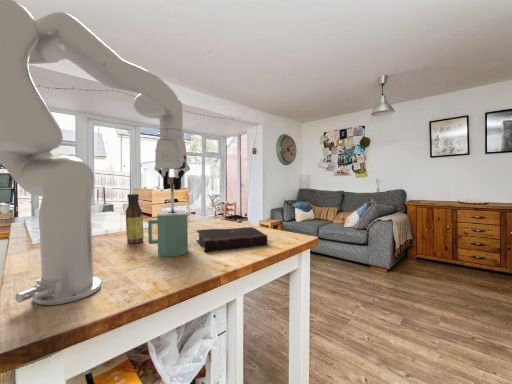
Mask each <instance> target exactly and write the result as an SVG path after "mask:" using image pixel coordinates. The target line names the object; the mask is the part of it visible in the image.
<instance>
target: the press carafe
mask: <svg viewBox="0 0 512 384" xmlns="http://www.w3.org/2000/svg"><path fill="white" fill-rule="evenodd" d="M156 218H157V219H148V220H147V223H148V224H147V225H148V226H147V227H148V232H147V233H148V245H154V244H157V254H158V256H159V257H162V258H175V257H176V258H177V257H182V256H184V255H186V254H188V252H189V249H188V247H189V244H188V242H189V240H188V238H189V237H188V212H187V211H186V210H185V209H182V210H180V209H179V210H177V209H175V210H174V213H171V210H160V211H159V212H158V213H157V217H156ZM153 224H157V238H154V239H153Z"/></svg>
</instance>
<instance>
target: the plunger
mask: <svg viewBox="0 0 512 384" xmlns="http://www.w3.org/2000/svg"><path fill="white" fill-rule="evenodd" d="M174 178H176V177H175V176H169V177H167V185H171V188H170V211H171V213H174V211H175V189H174Z"/></svg>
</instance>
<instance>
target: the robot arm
mask: <svg viewBox="0 0 512 384" xmlns="http://www.w3.org/2000/svg"><path fill="white" fill-rule="evenodd" d="M67 60H68V61H69V62H71V63H72V64H74V65H75V66H76V67H78V68H79V69H80V70H82V71H83V72H85V73H86V74H88V75H89V76H91V77H92V78H93V79H94V80H96V81H97V82H99V83H100V84H101V85H103V86H106V87H108V88H111V89H115V90H116V89H117V90H122V91H127V92H128V91H129V92H133V93H136V94H137V96H135V98H134V99H133V107H134V110H135V112H137V113H138V115H140V116H142V117H143V118H144V117H145V118H149V119H157V120H159V133H157V138H159V139H158V140H157V141H156V146H155V155H154V157H155V158H154V159H155V161H154V168H153V169H154V171H155V172H157V173H159V175H160V176H161V178H162V185H163V190H171V185H167V177H170V170H174V177H176V178H174V191H175V190H181V187H182V178H183V177H184V175H185V174H186V173H188V172H189V171H190V170H191V168H190V166H189V163H188V155H187V153H188V152H187V146H186V142H185V140H184V139H183V138H184V136H183V135H184V131H183V129H184V127H183V125H184V123H183V121H184V120H183V112H184V111H183V103H182V102H181V100H179V98H178V95H177V94H176V93H175V91H174V90H173V89H172V88H171V87H170V85H168V84H167V83H166V82H165V81H164V80H163V79H161V77H159V76H158V75H156V74H154V73H153V72H152V71H150V70H147V69H145V68H143V67H141V66H138V65H136V64H134V63H132V62H129V61H126V60H125V59H123V58H121V56H119V55H118V54H117V53H116V52H115V51H114V50H113V49H111V47H109V46H108V45H106V43H104V42H103V41H102V40H101V39H100V38H99V37H98V36H96V34H94V33H93V32H92V31H91V30H90V29H89V28H87V27H86V26H85V24H83V23H82V22H80V20H78V19H77V18H76V17H74V16H73V15H71V14H69V13H66V12H63V11H58V12H52V13H49V14H47V15H45V16H42V17H40V18H39V19H37V20H35V19H34V17H33V16H32V14H31V12H30V11H28V10H27V8H26V7H24V6H23V5H22V4H21V3H19V2H17V1H15V0H0V163H1V165H3V167H4V168H5V170H6V171H7V173H8V174H9V175H10V176H11V178H12V179H13V180H14V181H15V183H16V184H18V186H19V187H20V188H21V189H22V190H24V191H25V192H27V193H29V194H31V195H33V196H37V197H42V198H41V202H40V206H39V213H38V229H39V245H40V247H39V248H40V270H41V278H39V279H36V281H35V282H36V283H35V285H33V286H32V287H31V288H29V289H25V290H23V291H20V292H17V293H16V294H15V296H14V298H15V301H16V302H17V303H18V304H19V303H22V302H24V301H27V300H30V299H31V298H32V299H33V302H34V303H35V304H37V305H43V306H55V305H62V304H68V303H72V302H76V301H79V300H81V299H84V298H86V297H89V296H91V295H93V294H94V293H96V292H97V291H98V290H99V289H101V287H102V281H101V279H100V278H98V277H96V276H94V258H93V256H94V255H93V233H92V231H93V230H92V199H93V193H94V187H95V175H94V172H93V169H92V168H91V167H90V165H89V164H88V163H87V162H86V161H84V160H82V159H80V158H78V157H74V156H68V155H59V156H58V155H55V156H54V155H53V154H52V152H53V151H56V150H57V149H58V148H59V147H60V146H61V144H62V143H63V139H64V137H63V132H62V130H61V127H60V125H59V124H58V122H57V121H56V119H55V117H54V116H53V114H52V112H51V111H50V109H49V108H48V105H47V104H46V102H45V101H44V98H43V97H42V96H41V94H40V92H39V90H38V88H37V86H36V84H35V83H34V81H33V78H32V77H31V73H30V68H29V66H30V64H31V65H32V64H33V65H36V64H39V65H40V64H54V63H59V62H62V61H63V62H64V61H67Z"/></svg>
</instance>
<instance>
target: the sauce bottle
mask: <svg viewBox="0 0 512 384" xmlns="http://www.w3.org/2000/svg"><path fill="white" fill-rule="evenodd" d="M127 201H128V206H127V208H126V210H125V228H126V229H125V230H126V231H125V232H126V241H127V244H140V243H143V242H144V219H143V218H144V217H143V216H144V215H143V212H142V208H141V206H140V203H139V193H128V194H127Z"/></svg>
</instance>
